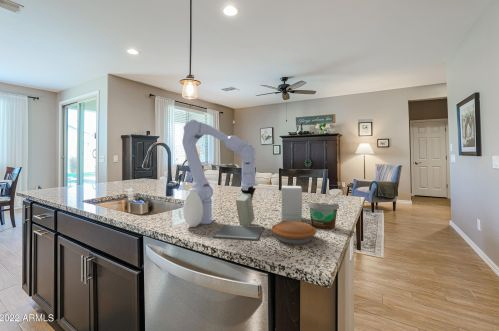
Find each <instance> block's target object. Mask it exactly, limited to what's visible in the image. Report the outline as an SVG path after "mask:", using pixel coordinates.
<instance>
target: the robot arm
mask: <svg viewBox="0 0 499 331" xmlns="http://www.w3.org/2000/svg"><path fill="white" fill-rule="evenodd" d="M205 135H206V136H212V137H213V138H215V139H218V140H219V141H221V142H223V143H225V147H226V148H228V149H229V150H232V152H234V153H236V154H239V155H241V187H242V188H241V189H240V191H241V192H242V193H247V194H251V197H252V199H253V197H254V194H255V191H256V187H255V186H259V183H257V182H256V157H255V156H256V154H257V150H256V148H255V147H254V146H253V145H252V144H248V143H249V142H248V141H244V140H242V139H240V137H239V136H238V135H236V134H235V135H227V134H226V133H224V132H222V131H220V130H218V129H217V128H215V127H213V126H212V125H210V124H208V123H207V124H206V123H204V122H202V121H198V120H196V119H194V118H193V119H189V120H188V121H186V123H185V125H184V126H183V137H182V140H181V143H182V146H183V149H184V154H185V157H186V159H187V164H188V167H189V170H190V173H191V176H192V180H193V182H192V183H193V189H196V192H197V193H198V195H199V196H200V199H201V201H202V205H203V217H202V220H201V222H200V223H199V225H201V224H203V225H209V224H211V223H213V221H215V219H216V218H214V217H213V213H212V212H213V208H212V207H213V206H212V196H214V189H213V187H212V186H211V185H210V182H209V181H208V179H207V178H206V176H205V171H204V169H203V165H202V162H201V158H200V155H199V151H198V148H197V143H198V142H199V140H200V139H201V138H202V137H203V136H205ZM242 193H241V194H242Z"/></svg>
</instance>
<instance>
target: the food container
mask: <svg viewBox="0 0 499 331" xmlns="http://www.w3.org/2000/svg"><path fill="white" fill-rule="evenodd" d="M307 207H308V208H309V215H310V223H311V224H310V225H311V226H312V227H314V228H315V229H318V230H333V229H335V227H336V222H337V221H336V220H337V214H338V210H339V209H340V207H339V204H338V202H337V203H333V204H330V203H324V202H320V203H316V202H311V200H309V202H308V204H307Z"/></svg>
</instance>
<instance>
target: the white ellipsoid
mask: <svg viewBox="0 0 499 331" xmlns="http://www.w3.org/2000/svg"><path fill="white" fill-rule="evenodd" d="M182 213H183V214H182V216H183V219H184V221H185V223H186V224H187V225H188V226H189V227H191V228H196V227H197V226H199V225H200V222H201V220H202V217H203V205H202V201H201V199H200V196H199V195H198V193H197V192H196V189H193V182H192V183H191V188H189V189H188V192H187V194H186V196H185V198H184V202H183V208H182Z"/></svg>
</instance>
